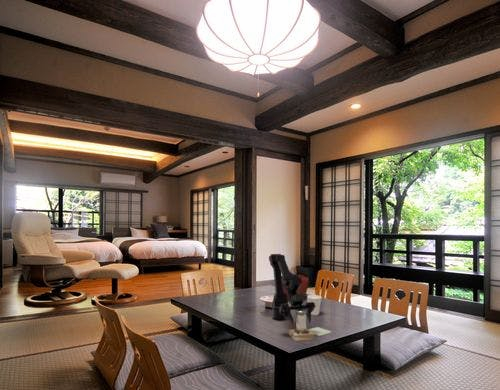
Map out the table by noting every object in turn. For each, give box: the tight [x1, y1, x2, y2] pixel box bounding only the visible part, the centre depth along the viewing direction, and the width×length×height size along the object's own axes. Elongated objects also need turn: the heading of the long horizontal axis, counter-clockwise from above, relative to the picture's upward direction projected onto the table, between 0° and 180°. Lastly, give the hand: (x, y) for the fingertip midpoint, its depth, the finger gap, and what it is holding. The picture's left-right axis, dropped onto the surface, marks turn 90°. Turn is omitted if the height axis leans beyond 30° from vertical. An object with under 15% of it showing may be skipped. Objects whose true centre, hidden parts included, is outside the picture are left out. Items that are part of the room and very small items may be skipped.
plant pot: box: [283, 274, 310, 302], centre depth 250 cm, size 19×19×17 cm
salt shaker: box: [294, 309, 307, 334], centre depth 165 cm, size 6×6×13 cm
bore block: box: [288, 327, 316, 342], centre depth 164 cm, size 10×10×3 cm
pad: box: [308, 326, 332, 337], centre depth 173 cm, size 10×10×1 cm
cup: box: [306, 294, 323, 316], centre depth 208 cm, size 10×10×11 cm
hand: (301, 322), depth 164 cm, fingers open, 9 cm apart
